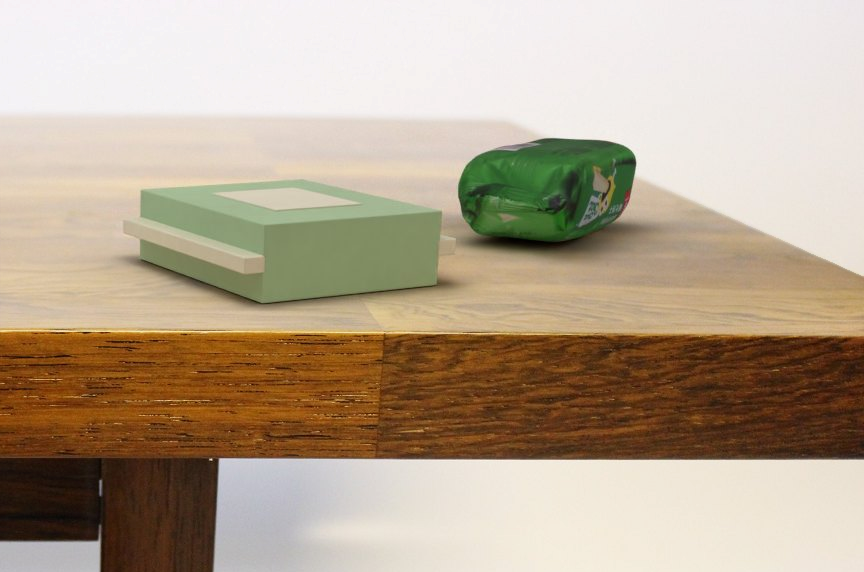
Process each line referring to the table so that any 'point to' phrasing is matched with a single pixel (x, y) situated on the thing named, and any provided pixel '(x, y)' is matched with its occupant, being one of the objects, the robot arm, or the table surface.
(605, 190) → the snack package
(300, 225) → the green block with rails
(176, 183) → the table surface
